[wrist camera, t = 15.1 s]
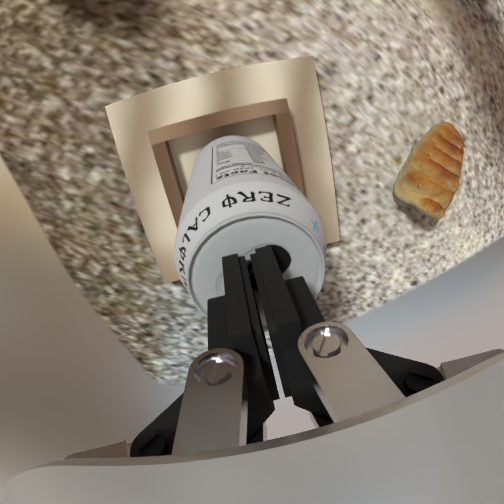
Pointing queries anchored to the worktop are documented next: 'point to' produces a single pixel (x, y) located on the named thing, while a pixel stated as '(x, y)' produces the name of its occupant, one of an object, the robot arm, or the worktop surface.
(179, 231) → the energy drink can
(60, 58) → the worktop surface
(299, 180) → the board
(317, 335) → the robot arm
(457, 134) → the pastry
